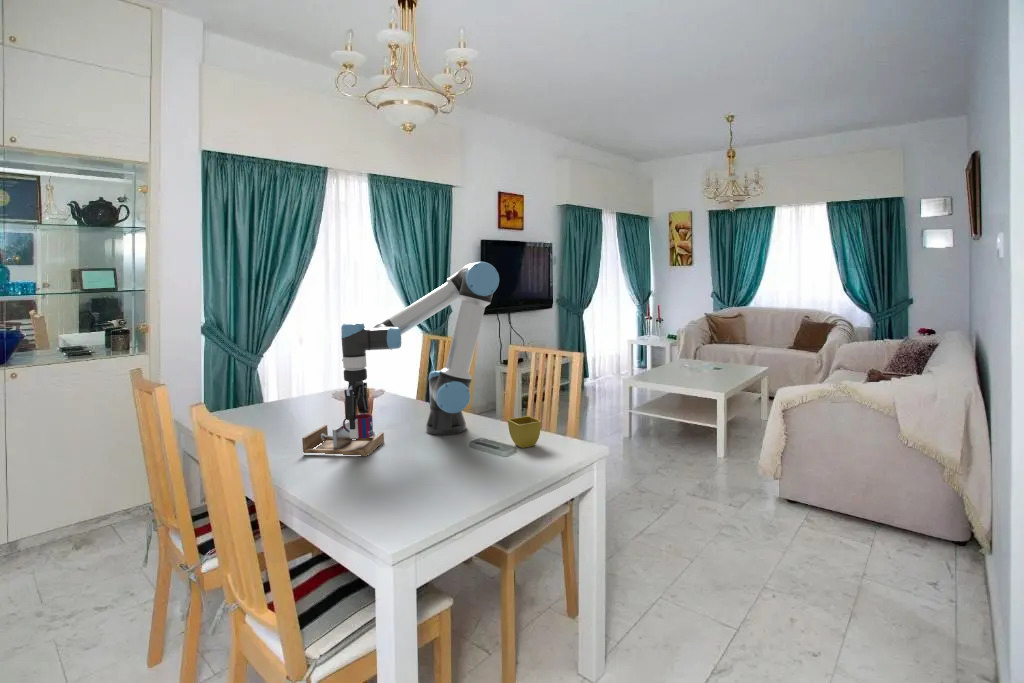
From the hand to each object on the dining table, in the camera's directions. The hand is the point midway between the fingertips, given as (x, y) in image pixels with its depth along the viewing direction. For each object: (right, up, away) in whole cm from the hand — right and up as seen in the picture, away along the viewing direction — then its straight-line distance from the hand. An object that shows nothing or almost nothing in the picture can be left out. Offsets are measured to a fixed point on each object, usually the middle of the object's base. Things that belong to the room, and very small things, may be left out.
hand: (358, 434), depth 185 cm
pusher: (-9, -4, +2) cm, 10 cm away
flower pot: (+57, -4, +1) cm, 57 cm away
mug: (0, -1, 0) cm, 1 cm away
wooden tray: (-5, -5, +1) cm, 7 cm away
